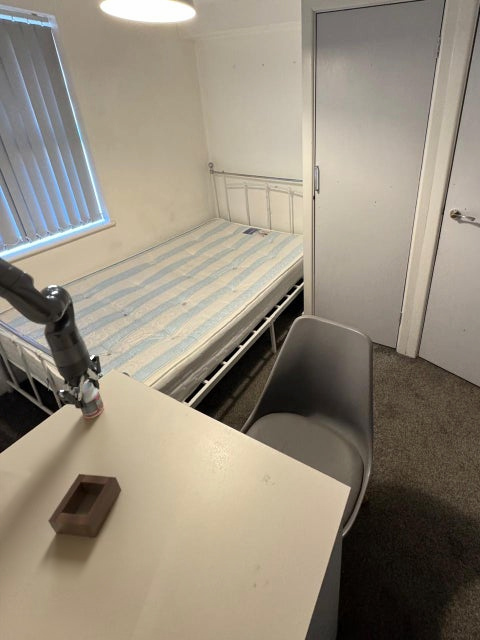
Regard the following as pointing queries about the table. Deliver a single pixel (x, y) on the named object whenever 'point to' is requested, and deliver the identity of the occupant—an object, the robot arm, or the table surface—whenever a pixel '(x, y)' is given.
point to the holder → (65, 512)
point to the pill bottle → (91, 401)
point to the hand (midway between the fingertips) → (88, 398)
